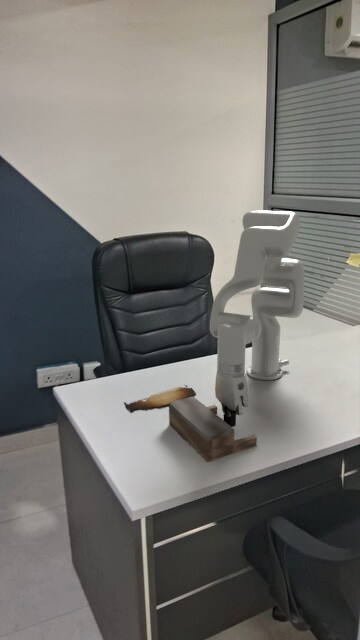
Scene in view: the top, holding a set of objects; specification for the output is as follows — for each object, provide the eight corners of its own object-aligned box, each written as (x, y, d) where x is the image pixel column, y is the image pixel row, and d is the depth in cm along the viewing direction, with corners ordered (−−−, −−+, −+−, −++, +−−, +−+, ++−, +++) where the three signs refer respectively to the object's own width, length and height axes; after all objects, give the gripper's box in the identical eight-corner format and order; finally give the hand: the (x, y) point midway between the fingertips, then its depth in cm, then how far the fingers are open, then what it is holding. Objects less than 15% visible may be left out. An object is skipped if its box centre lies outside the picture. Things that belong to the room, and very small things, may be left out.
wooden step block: (214, 412, 146) (214, 390, 144) (256, 445, 129) (257, 421, 127) (169, 424, 139) (168, 402, 137) (207, 462, 122) (207, 437, 120)
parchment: (186, 385, 165) (186, 382, 165) (202, 395, 157) (202, 393, 157) (121, 404, 153) (120, 402, 153) (135, 417, 145) (134, 414, 145)
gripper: (258, 373, 126) (256, 435, 132) (227, 355, 139) (225, 412, 144) (235, 379, 123) (233, 442, 128) (204, 360, 135) (204, 418, 141)
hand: (229, 426), depth 136 cm, fingers closed
